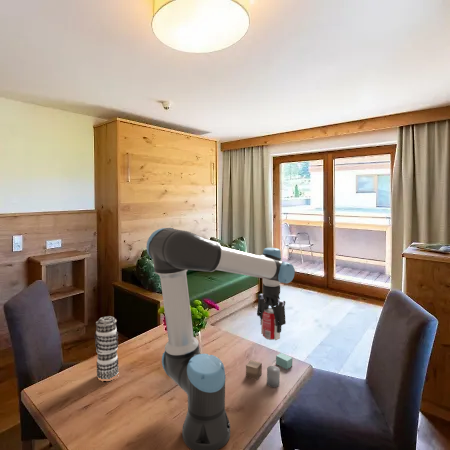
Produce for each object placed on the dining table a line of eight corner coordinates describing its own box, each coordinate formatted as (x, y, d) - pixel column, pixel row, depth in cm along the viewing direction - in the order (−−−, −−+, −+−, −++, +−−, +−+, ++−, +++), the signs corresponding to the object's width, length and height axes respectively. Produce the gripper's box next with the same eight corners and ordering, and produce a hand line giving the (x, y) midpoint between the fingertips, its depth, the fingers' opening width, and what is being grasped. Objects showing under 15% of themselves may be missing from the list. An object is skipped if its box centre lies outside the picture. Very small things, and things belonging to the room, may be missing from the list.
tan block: (256, 380, 124) (256, 368, 123) (245, 376, 126) (245, 365, 126) (261, 374, 128) (261, 362, 127) (251, 370, 130) (251, 359, 130)
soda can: (278, 334, 134) (278, 307, 133) (279, 341, 127) (279, 313, 126) (262, 333, 134) (262, 307, 133) (262, 340, 127) (262, 313, 126)
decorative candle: (91, 381, 123) (88, 321, 120) (105, 368, 132) (103, 313, 129) (110, 384, 120) (108, 324, 118) (123, 371, 129) (122, 315, 127)
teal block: (286, 369, 131) (287, 361, 131) (275, 364, 136) (276, 355, 135) (292, 366, 134) (292, 357, 134) (281, 361, 138) (281, 352, 138)
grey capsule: (273, 388, 118) (273, 374, 117) (264, 382, 122) (264, 368, 121) (282, 384, 121) (282, 369, 120) (272, 378, 125) (272, 364, 124)
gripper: (295, 287, 123) (294, 341, 125) (260, 278, 139) (259, 326, 141) (283, 291, 119) (282, 347, 121) (248, 280, 134) (248, 330, 136)
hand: (270, 335), depth 131 cm, fingers closed on soda can, 7 cm apart
